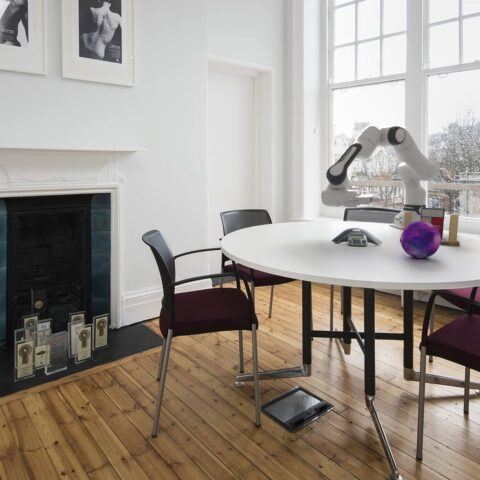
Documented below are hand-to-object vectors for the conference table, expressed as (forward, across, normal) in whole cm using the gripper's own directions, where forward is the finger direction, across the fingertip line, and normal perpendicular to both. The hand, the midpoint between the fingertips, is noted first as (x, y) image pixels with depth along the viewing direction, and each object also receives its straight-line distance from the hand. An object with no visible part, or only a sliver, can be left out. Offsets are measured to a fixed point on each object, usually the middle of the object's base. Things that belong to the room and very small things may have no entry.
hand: (381, 199), depth 218 cm
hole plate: (+27, +9, +20) cm, 35 cm away
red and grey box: (+23, +20, +20) cm, 37 cm away
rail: (+23, 0, +20) cm, 30 cm away
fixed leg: (+33, 0, +18) cm, 38 cm away
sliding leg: (+13, 0, +18) cm, 22 cm away
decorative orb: (+21, -39, +20) cm, 48 cm away
